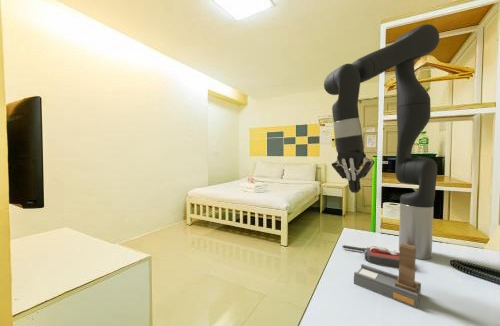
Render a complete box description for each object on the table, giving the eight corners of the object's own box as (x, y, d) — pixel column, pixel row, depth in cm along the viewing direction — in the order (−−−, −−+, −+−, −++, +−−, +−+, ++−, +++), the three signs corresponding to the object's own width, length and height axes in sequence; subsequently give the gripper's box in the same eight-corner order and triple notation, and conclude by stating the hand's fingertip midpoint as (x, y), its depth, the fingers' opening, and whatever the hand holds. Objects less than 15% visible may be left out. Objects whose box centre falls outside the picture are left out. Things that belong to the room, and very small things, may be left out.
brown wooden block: (398, 280, 56) (399, 241, 56) (417, 286, 53) (419, 246, 53) (394, 286, 53) (396, 246, 53) (415, 294, 51) (416, 251, 50)
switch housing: (362, 273, 64) (362, 263, 64) (420, 293, 54) (421, 282, 54) (353, 283, 59) (353, 273, 58) (416, 308, 49) (416, 296, 49)
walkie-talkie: (407, 259, 73) (342, 248, 81) (408, 246, 73) (342, 237, 81) (415, 272, 65) (342, 259, 73) (415, 257, 65) (342, 246, 73)
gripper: (377, 131, 62) (384, 190, 63) (336, 137, 73) (342, 188, 74) (363, 132, 58) (371, 196, 59) (321, 139, 69) (329, 193, 70)
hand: (355, 192), depth 67 cm, fingers closed
